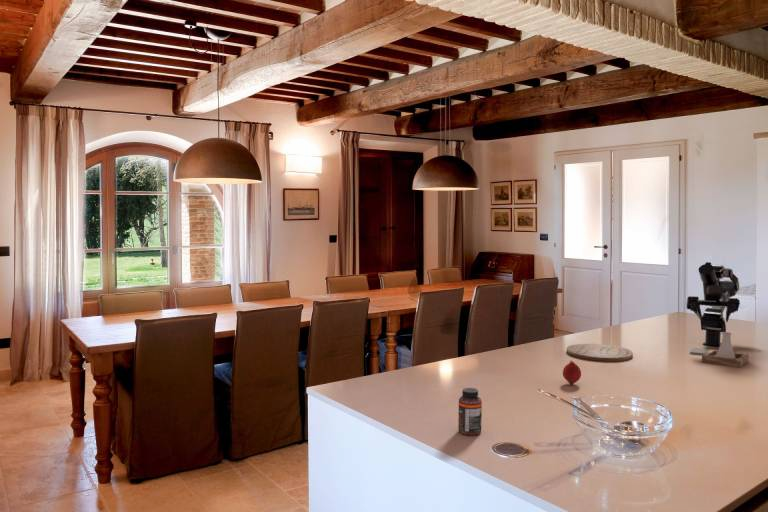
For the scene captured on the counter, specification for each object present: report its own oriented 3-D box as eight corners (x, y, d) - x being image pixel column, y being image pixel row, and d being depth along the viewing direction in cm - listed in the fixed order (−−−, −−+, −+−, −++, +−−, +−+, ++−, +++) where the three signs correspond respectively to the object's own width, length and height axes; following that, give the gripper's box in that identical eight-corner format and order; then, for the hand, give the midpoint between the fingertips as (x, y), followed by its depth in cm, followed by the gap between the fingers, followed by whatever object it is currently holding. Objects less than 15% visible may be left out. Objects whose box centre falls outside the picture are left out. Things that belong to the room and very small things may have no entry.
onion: (581, 382, 210) (581, 359, 209) (580, 387, 204) (581, 363, 203) (562, 381, 211) (563, 357, 211) (561, 385, 206) (562, 361, 205)
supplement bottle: (456, 428, 166) (456, 386, 165) (478, 427, 166) (478, 386, 165) (460, 436, 160) (461, 393, 159) (483, 436, 160) (484, 392, 159)
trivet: (563, 359, 244) (563, 354, 243) (569, 346, 267) (569, 341, 267) (632, 365, 234) (632, 360, 234) (632, 351, 257) (633, 346, 257)
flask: (718, 355, 244) (719, 330, 243) (738, 358, 239) (740, 332, 238) (712, 358, 239) (713, 333, 238) (733, 362, 234) (734, 335, 233)
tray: (710, 355, 248) (710, 349, 248) (747, 361, 240) (748, 354, 240) (701, 361, 238) (702, 355, 238) (740, 367, 230) (740, 360, 230)
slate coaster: (691, 349, 259) (692, 347, 259) (716, 351, 255) (716, 350, 255) (689, 353, 252) (690, 351, 251) (715, 356, 247) (715, 354, 247)
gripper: (688, 276, 256) (690, 307, 247) (740, 278, 250) (744, 310, 241) (685, 293, 264) (687, 323, 255) (735, 295, 258) (739, 326, 249)
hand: (714, 320), depth 250 cm, fingers open, 9 cm apart
